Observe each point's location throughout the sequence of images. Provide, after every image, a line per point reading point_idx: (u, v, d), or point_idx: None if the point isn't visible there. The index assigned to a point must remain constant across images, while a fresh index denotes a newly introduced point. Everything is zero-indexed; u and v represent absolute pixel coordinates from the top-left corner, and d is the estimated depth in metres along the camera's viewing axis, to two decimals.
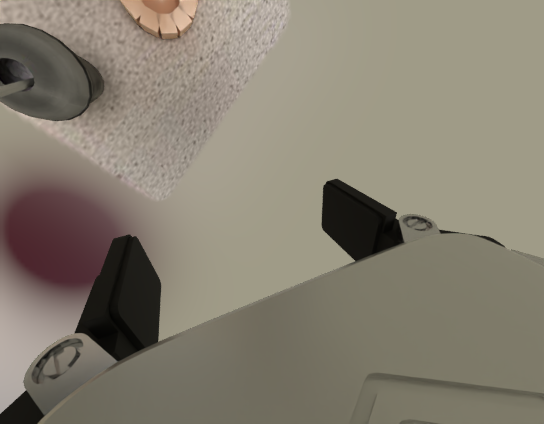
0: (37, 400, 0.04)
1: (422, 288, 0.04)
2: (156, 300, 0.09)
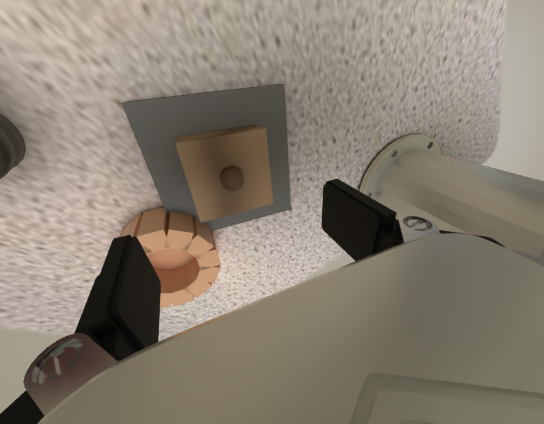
0: (37, 400, 0.04)
1: (422, 288, 0.04)
2: (156, 300, 0.09)
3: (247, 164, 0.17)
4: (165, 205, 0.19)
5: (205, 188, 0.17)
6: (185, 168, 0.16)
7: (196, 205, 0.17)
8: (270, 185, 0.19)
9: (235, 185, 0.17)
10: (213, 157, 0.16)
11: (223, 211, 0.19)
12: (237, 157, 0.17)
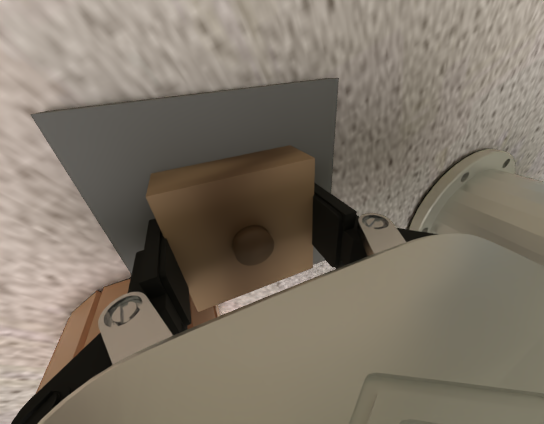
0: (105, 339, 0.05)
1: (422, 288, 0.04)
2: None
3: (278, 217, 0.10)
4: None
5: (206, 263, 0.10)
6: (168, 237, 0.08)
7: (190, 290, 0.10)
8: (311, 244, 0.12)
9: (258, 255, 0.10)
10: (220, 213, 0.09)
11: (235, 290, 0.11)
12: (263, 209, 0.09)
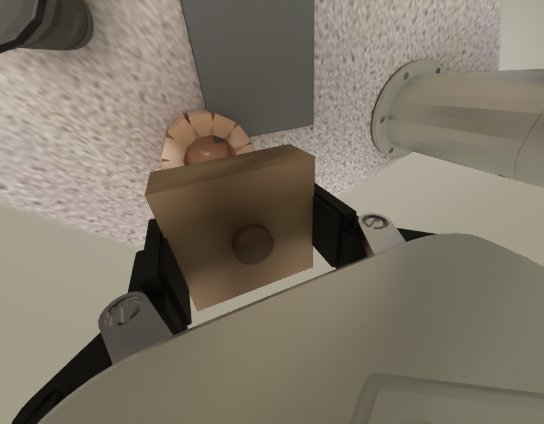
0: (105, 339, 0.05)
1: (423, 288, 0.04)
2: None
3: (278, 216, 0.10)
4: (207, 103, 0.21)
5: (206, 262, 0.10)
6: (167, 236, 0.08)
7: (190, 289, 0.10)
8: (311, 243, 0.12)
9: (258, 254, 0.10)
10: (219, 212, 0.09)
11: (235, 290, 0.11)
12: (263, 208, 0.09)
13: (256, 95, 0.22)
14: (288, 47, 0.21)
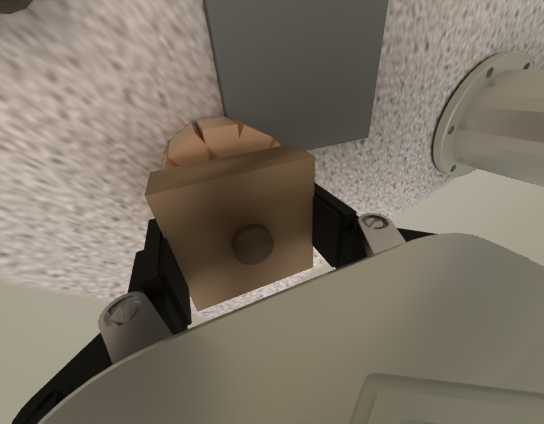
0: (105, 339, 0.05)
1: (422, 288, 0.04)
2: None
3: (278, 216, 0.10)
4: (227, 107, 0.14)
5: (206, 262, 0.10)
6: (167, 236, 0.08)
7: (190, 289, 0.10)
8: (311, 243, 0.12)
9: (258, 255, 0.10)
10: (220, 212, 0.09)
11: (235, 290, 0.11)
12: (263, 208, 0.09)
13: (298, 95, 0.15)
14: (350, 26, 0.14)
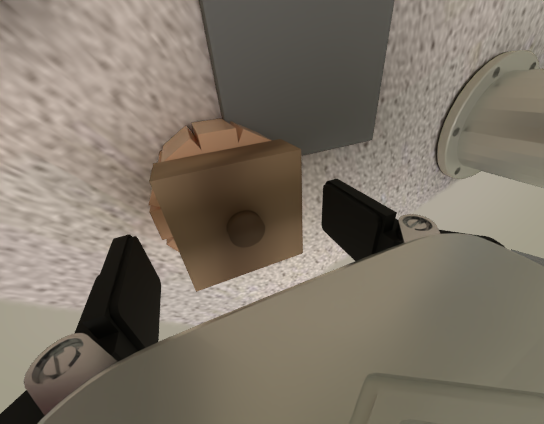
0: (37, 400, 0.04)
1: (422, 288, 0.04)
2: (156, 300, 0.09)
3: (269, 203, 0.11)
4: (225, 109, 0.13)
5: (203, 244, 0.11)
6: (169, 219, 0.09)
7: (189, 269, 0.11)
8: (300, 230, 0.13)
9: (250, 238, 0.11)
10: (215, 198, 0.10)
11: (231, 272, 0.12)
12: (255, 195, 0.10)
13: (300, 97, 0.14)
14: (355, 22, 0.13)
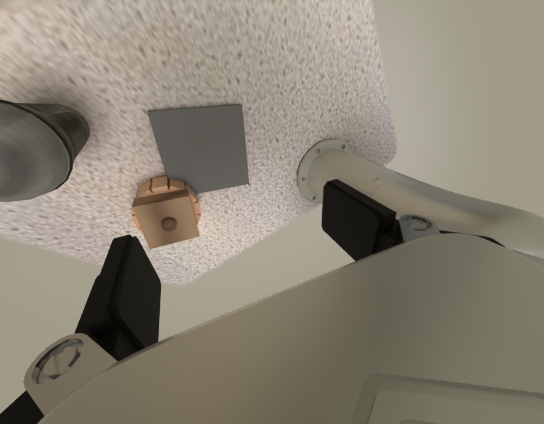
0: (37, 400, 0.04)
1: (422, 288, 0.04)
2: (156, 300, 0.09)
3: (178, 215, 0.29)
4: (167, 174, 0.31)
5: (152, 229, 0.28)
6: (138, 219, 0.27)
7: (146, 239, 0.29)
8: (196, 226, 0.31)
9: (170, 227, 0.29)
10: (156, 213, 0.27)
11: (165, 242, 0.30)
12: (172, 212, 0.28)
13: (203, 167, 0.32)
14: (226, 139, 0.32)
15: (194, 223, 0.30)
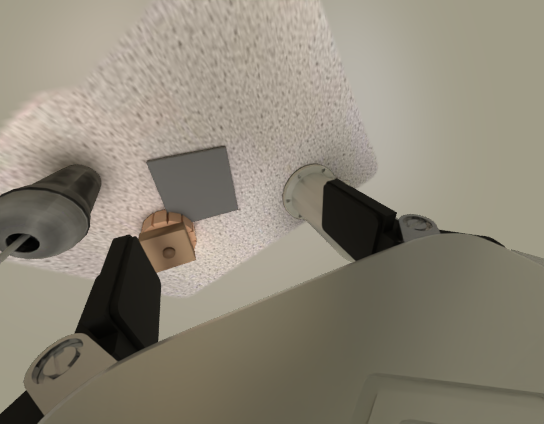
0: (37, 400, 0.04)
1: (422, 288, 0.04)
2: (156, 300, 0.09)
3: (176, 244, 0.34)
4: (166, 208, 0.37)
5: (155, 258, 0.34)
6: None
7: None
8: (192, 252, 0.36)
9: (170, 255, 0.34)
10: (157, 244, 0.33)
11: (166, 266, 0.36)
12: (170, 242, 0.34)
13: (197, 200, 0.38)
14: (214, 176, 0.37)
15: (190, 250, 0.36)
